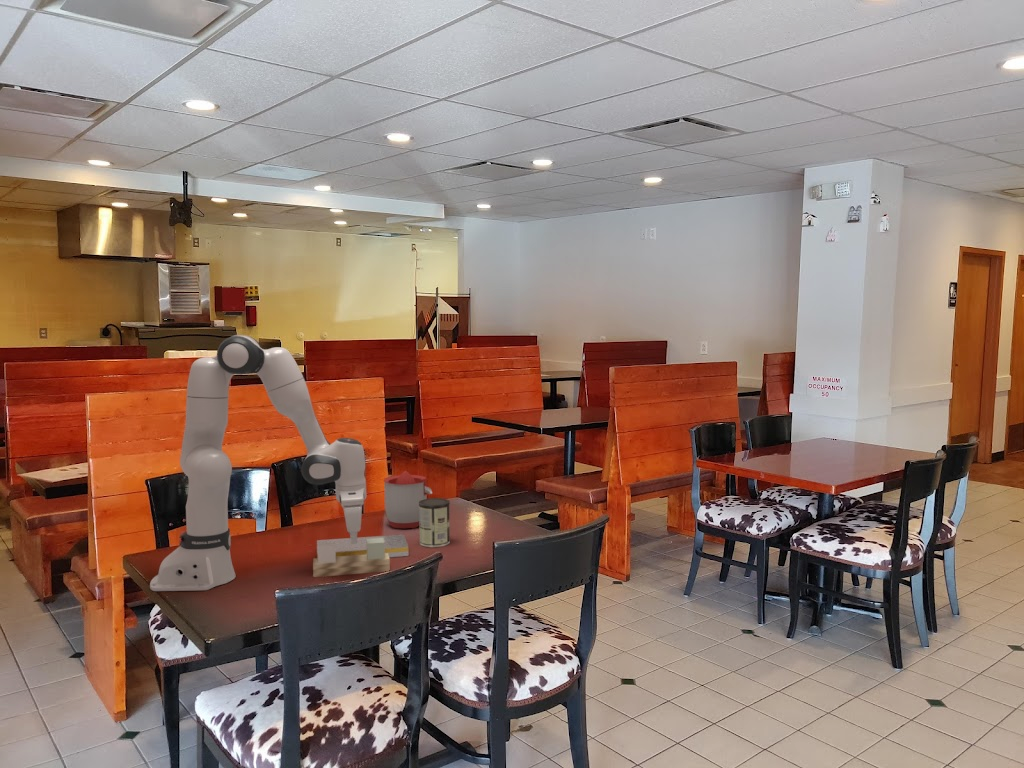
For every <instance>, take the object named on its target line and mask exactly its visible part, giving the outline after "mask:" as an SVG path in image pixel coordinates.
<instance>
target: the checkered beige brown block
mask: <svg viewBox="0 0 1024 768" xmlns="http://www.w3.org/2000/svg"><path fill="white" fill-rule="evenodd" d="M390 558H391V557H389V555H388V553H385V559H376V560H368V559H367V555H354V556H340V557H336V563H323V564H318V558H317V557H316V558H315V557H313V559H312V561H313V562H312V571H313V574H312V577H313V578H319V577H320V578H321V577H333V576H346V575H348V576H349V575H358V574H359V575H360V574H370V573H373V574H374V573H385V571H386V572H390V571H391V568H390V567H391V565H390V564H391V563H390V562H391V560H390ZM389 570H390V571H389Z"/></svg>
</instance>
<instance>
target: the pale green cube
mask: <svg viewBox="0 0 1024 768" xmlns="http://www.w3.org/2000/svg"><path fill="white" fill-rule="evenodd" d="M366 543H367V559H368V560H376V559H385V542H384V539H383V538H372V539H366Z"/></svg>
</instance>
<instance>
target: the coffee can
mask: <svg viewBox="0 0 1024 768" xmlns="http://www.w3.org/2000/svg"><path fill="white" fill-rule="evenodd" d="M450 503H451V501H450V499H448V498H447V499H446V498H442V497H441V498H440V497H439V498H438V497H434V498H433V497H431V498H427V499H424V500H421V501H419V526H418V528H419V529H418V530H419V545H420V546H422V547H424V548H442V547H445V546H447V545H449V544H450V543H451V541H450V535H451V533H450V532H451V530H450Z"/></svg>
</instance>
